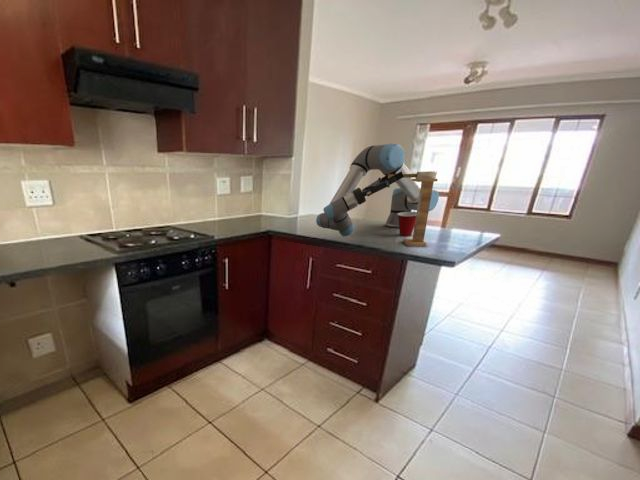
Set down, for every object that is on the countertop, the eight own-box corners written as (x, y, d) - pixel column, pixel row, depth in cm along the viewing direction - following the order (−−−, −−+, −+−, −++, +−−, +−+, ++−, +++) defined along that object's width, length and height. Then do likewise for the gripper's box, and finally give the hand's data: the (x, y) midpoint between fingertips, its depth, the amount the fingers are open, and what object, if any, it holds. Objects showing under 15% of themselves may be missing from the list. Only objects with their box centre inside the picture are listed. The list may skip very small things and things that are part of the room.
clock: (386, 179, 158) (387, 172, 157) (432, 178, 154) (433, 171, 153) (389, 180, 151) (390, 173, 150) (438, 178, 147) (439, 171, 146)
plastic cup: (389, 234, 185) (392, 212, 181) (403, 232, 189) (407, 211, 185) (406, 238, 176) (409, 214, 171) (420, 235, 180) (424, 212, 176)
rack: (402, 241, 168) (412, 178, 157) (419, 241, 166) (430, 178, 155) (407, 246, 159) (417, 179, 148) (426, 246, 157) (437, 178, 146)
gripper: (354, 193, 149) (402, 166, 141) (349, 189, 171) (390, 166, 163) (361, 208, 150) (409, 182, 142) (355, 202, 173) (396, 179, 165)
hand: (399, 173), depth 153 cm, fingers open, 13 cm apart
